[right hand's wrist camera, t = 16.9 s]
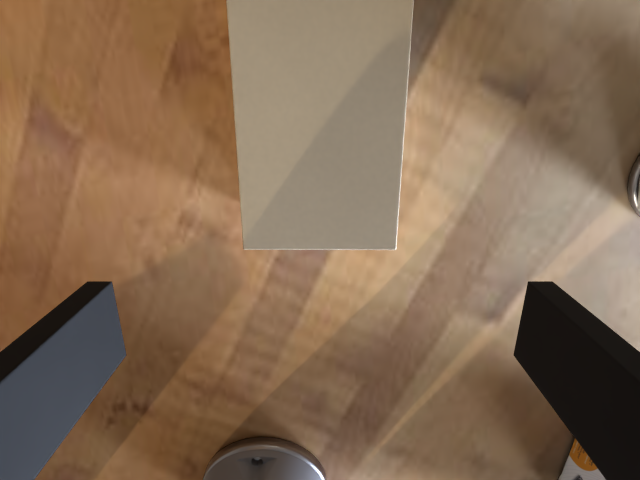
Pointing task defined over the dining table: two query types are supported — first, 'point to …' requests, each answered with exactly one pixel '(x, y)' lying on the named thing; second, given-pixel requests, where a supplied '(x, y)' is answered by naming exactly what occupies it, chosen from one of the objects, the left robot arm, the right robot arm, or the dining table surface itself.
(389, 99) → the cabinet
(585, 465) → the hard drive box
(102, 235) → the dining table surface
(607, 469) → the right robot arm
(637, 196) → the left robot arm
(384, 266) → the dining table surface
